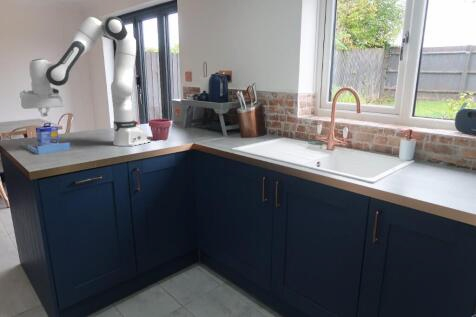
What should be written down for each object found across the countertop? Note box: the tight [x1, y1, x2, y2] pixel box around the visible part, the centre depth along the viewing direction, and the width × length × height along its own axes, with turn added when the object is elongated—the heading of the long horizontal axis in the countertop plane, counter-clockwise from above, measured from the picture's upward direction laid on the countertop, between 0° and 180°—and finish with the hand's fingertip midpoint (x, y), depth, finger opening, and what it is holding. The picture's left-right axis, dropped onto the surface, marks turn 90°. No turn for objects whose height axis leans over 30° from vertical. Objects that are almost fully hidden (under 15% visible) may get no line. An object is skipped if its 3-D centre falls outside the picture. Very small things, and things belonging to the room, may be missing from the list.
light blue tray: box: [19, 141, 71, 155], centre depth 187 cm, size 16×31×4 cm, turn 47°
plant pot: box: [148, 118, 172, 141], centre depth 215 cm, size 14×14×13 cm
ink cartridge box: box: [35, 122, 60, 147], centre depth 184 cm, size 10×6×14 cm, turn 148°
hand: (44, 116), depth 179 cm, fingers closed
